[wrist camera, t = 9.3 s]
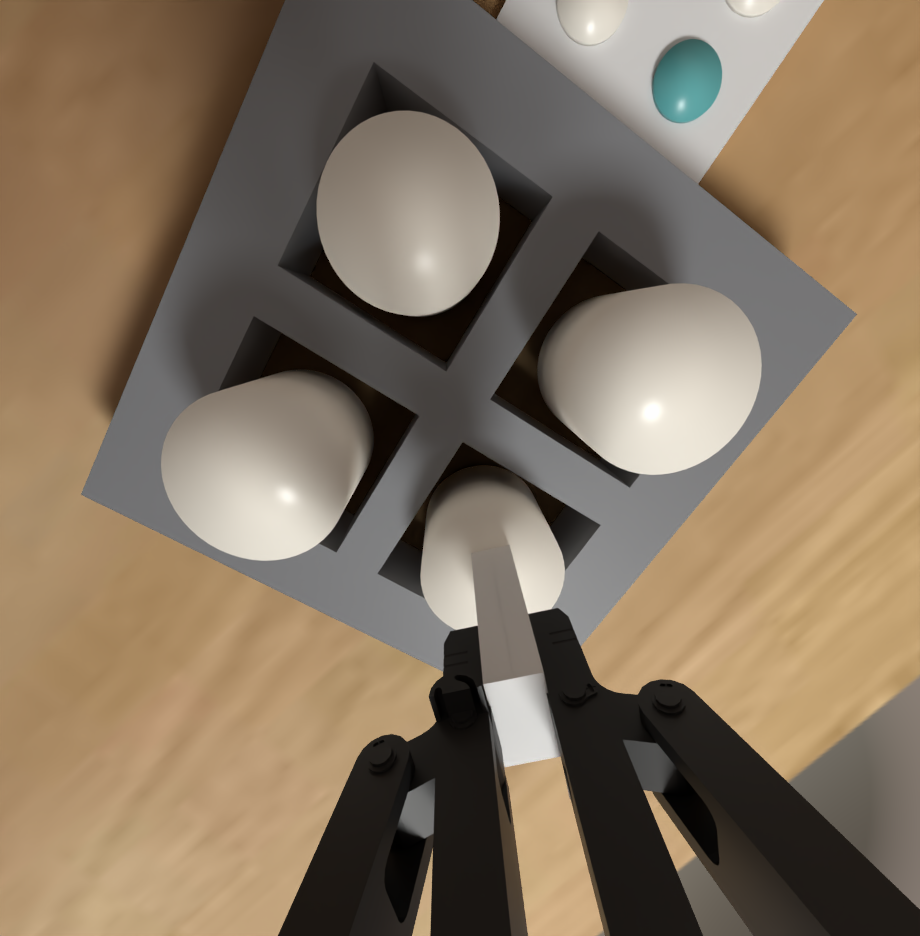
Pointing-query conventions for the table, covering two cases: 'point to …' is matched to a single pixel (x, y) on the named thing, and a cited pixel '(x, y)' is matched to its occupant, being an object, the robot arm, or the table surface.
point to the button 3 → (486, 542)
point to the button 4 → (652, 375)
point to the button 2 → (408, 213)
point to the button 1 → (268, 463)
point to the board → (490, 332)
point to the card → (666, 62)
